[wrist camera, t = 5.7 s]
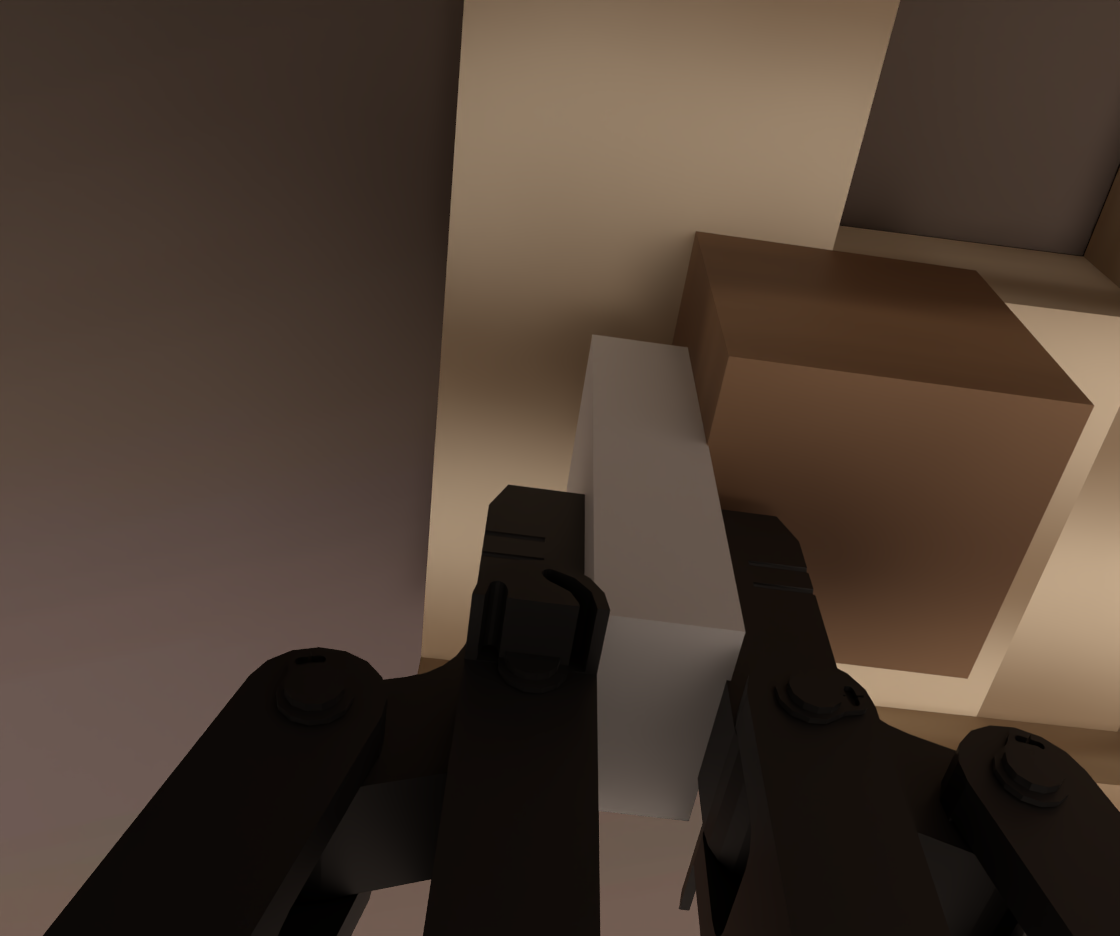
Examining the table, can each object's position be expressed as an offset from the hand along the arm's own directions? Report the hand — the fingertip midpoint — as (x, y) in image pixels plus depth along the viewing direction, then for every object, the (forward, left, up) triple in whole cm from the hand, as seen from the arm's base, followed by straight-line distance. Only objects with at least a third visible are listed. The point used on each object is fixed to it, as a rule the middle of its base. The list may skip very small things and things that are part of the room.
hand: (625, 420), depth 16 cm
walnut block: (0, +3, -2) cm, 3 cm away
